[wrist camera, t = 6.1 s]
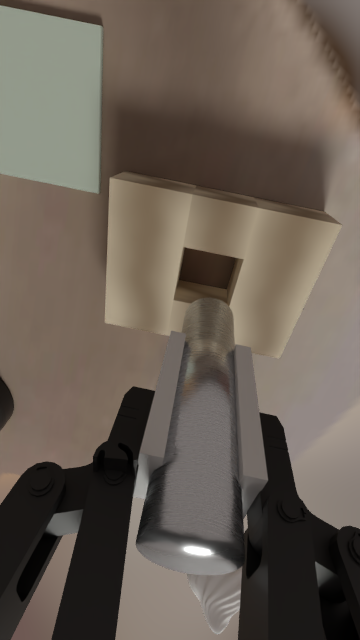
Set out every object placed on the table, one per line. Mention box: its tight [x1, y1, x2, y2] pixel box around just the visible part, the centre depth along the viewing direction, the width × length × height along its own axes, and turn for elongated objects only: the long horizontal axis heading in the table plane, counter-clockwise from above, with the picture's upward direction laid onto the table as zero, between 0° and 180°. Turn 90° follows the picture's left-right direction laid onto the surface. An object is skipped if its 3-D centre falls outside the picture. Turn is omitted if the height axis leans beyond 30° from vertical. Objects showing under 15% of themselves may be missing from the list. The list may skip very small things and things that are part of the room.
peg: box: [136, 297, 245, 575], centre depth 13 cm, size 3×3×12 cm
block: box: [105, 171, 342, 359], centre depth 25 cm, size 16×12×4 cm
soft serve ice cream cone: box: [187, 526, 244, 634], centre depth 39 cm, size 8×8×16 cm
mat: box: [0, 5, 103, 194], centre depth 21 cm, size 10×10×1 cm
